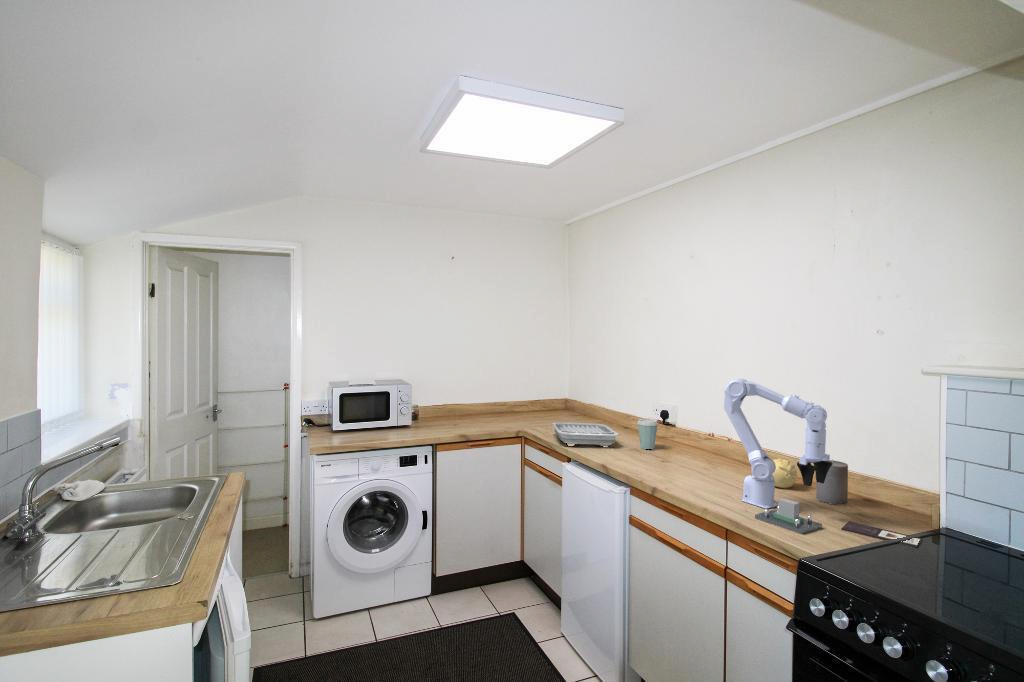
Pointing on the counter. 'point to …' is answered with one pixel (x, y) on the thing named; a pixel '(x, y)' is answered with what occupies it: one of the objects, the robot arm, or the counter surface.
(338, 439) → the counter surface
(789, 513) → the green base grey block
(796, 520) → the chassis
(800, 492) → the counter surface
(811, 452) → the robot arm
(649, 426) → the disposable coffee cup
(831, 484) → the pillar candle
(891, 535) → the chocolate bar
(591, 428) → the dish rack
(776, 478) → the sculpture
